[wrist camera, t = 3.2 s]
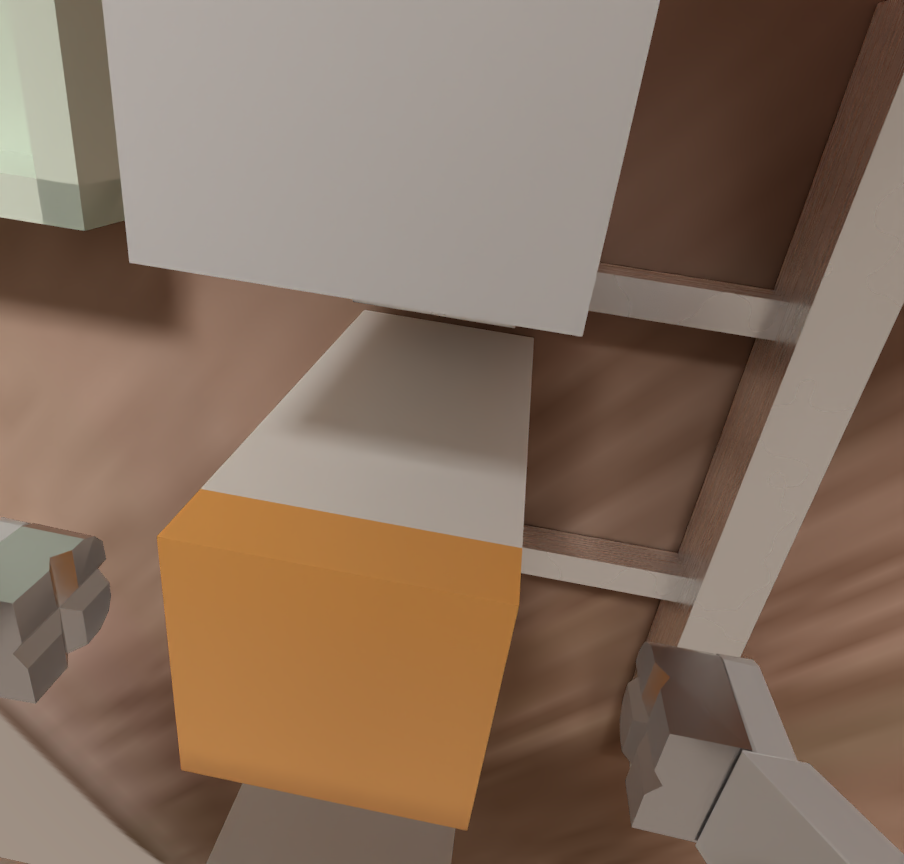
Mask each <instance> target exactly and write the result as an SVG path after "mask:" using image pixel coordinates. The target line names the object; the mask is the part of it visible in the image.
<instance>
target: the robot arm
mask: <svg viewBox="0 0 904 864" xmlns="http://www.w3.org/2000/svg"><path fill="white" fill-rule="evenodd" d="M105 560H106V557H105V551H104V546H103V541H101V540H100V539H98V538H96V537H95V536H91V535H86V534H82V533H77V532H73V531H68V530H63V529H59V528H54V527H49V526H45V525H40V524H35V523H32V524H31V523H27V522H23V521H18V520H14V519H9V518H5V517H1V518H0V697H1V698H7V699H12V700H18V701H24V702H29V703H35V704H36V703H37V701H38V700H39V699H40V698H41V697H42V696H43V695H44V694H45V692H46V691H47V690H48V689H49V688H50V687H51V686H52V684H53V683H54V682H55V681H56V680H57V679H58V678H59V677H60V675H61V674H62V673H63V672H64V671H65V670H66V669H67V667H68V653H70V652H72V651H74V650H76V649H79V648H81V647H83V646H85V645H87V644H88V643H89V642H90V641H91V640H92V639H93V637H94V636H95V635H96V634H97V633H98V631H99V630H100V629H101V627H102V624H103V622H104V620H105V618H106V616H107V613H108V611H109V605H110V598H111V593H110V584H109V582H108V580H107V579H106V578H105V577H104V576H103V574H102V573H101V572H100V571H99V569H98V568H99V567H100V566H101V564H102V563H103V562H104V561H105ZM636 666H637V673H638V677H637V678H636V679H634V680H632V681H631V682H629V683H628V684H627V687H626V691H625V694H624V697H623V700H622V707H621V715H620V740H621V750H622V752H623V754H624V755H625V756H626V757H627V759H628V760H629V761H630V763H631V766H630V769H629V772H628V775H627V777H626V780H625V782H626V790H627V797H628V805H629V813H630V820H631V827H632V828H637V829H641V830H645V831H649V832H654V833H658V834H662V835H666V836H670V837H675V838H679V839H683V840H687V841H692V842H696V845H695V846H696V848H697V849H698V851H699V852H700V854H701V855H702V857H703V859H704V860H705V862H706V863H707V864H904V854H903V853H902V852H901V851H900V850H899V849H898V848H897V847H895V846H894V845H893V844H892V843H891V842H890V841H889V840H888V839H887V838H886V837H885V836H884V835H883V834H882V833H881V832H880V831H879V830H878V829H877V828H876V827H875V826H874V825H873V824H872V823H871V822H870V821H868V820H867V819H866V818H865V817H864V816H863V815H862V814H861V813H860V812H859V811H858V810H857V809H856V808H855V807H854V806H853V805H852V804H851V803H850V802H849V801H848V800H847V799H846V798H845V797H844V796H843V795H841V794H840V793H839V792H838V791H837V790H836V789H835V788H834V787H833V786H832V785H831V784H830V783H829V782H828V781H827V780H826V779H825V778H824V777H823V776H822V775H821V774H820V773H819V772H818V771H817V770H815V769H814V768H813V767H812V766H811V765H810V764H809V763H804V762H800V761H798V760H797V758H796V756H795V753H794V751H793V748H792V746H791V743H790V741H789V738H788V736H787V733H786V731H785V728H784V726H783V724H782V721H781V719H780V716H779V714H778V711H777V709H776V706H775V704H774V701H773V699H772V697H771V694H770V692H769V689H768V687H767V684H766V682H765V679H764V677H763V674H762V672H761V669H760V667H759V665H758V664H757V663H756V662H755V661H754V660H752V659H747V658H741V657H735V656H729V655H723V654H713V653H708V652H703V651H697V650H692V649H686V648H681V647H676V646H670V645H665V644H659V643H654V642H648V641H645V642H644V644H643V645H642V646H641V648H640V650H639V653H638V656H637V659H636ZM0 864H28V863H23V862H19V861H14V860H10V859H6V858H1V857H0Z"/></svg>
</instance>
